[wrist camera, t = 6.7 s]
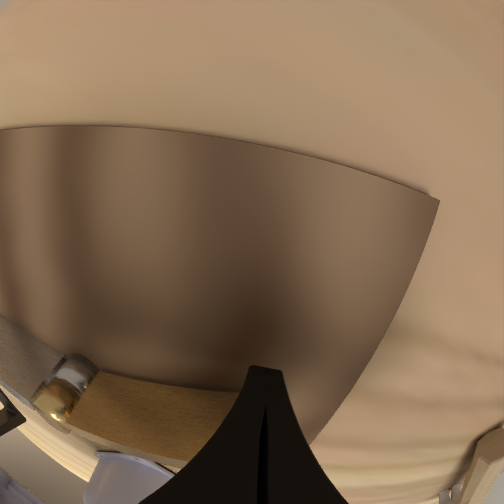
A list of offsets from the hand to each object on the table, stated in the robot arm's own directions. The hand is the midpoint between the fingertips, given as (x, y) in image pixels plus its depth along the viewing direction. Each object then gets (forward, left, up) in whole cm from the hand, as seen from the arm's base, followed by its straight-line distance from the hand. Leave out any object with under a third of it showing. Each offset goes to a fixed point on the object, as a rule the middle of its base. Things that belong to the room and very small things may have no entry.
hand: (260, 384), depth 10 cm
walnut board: (-8, +5, -2) cm, 10 cm away
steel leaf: (-14, +7, -1) cm, 16 cm away
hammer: (+9, -40, -3) cm, 41 cm away
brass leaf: (-6, +1, -1) cm, 6 cm away
